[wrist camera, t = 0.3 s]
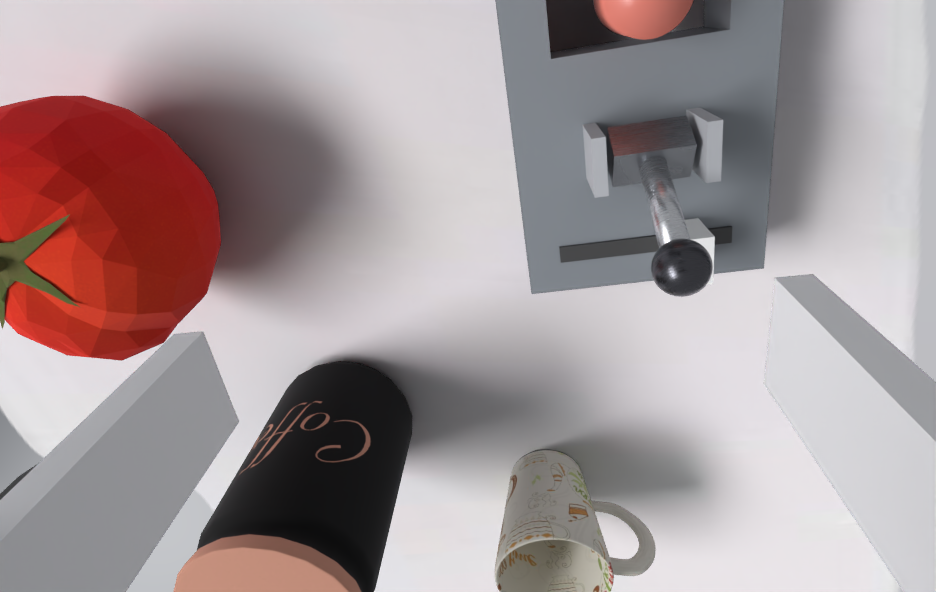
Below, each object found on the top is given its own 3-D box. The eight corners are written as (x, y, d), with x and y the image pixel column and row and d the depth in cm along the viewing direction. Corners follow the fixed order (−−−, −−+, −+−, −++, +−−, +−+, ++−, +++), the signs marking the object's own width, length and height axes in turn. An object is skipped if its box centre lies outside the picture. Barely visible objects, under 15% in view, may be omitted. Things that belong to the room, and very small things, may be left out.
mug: (506, 431, 47) (505, 530, 38) (656, 454, 47) (690, 558, 38) (491, 503, 51) (486, 608, 42) (629, 524, 51) (654, 634, 42)
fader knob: (662, 222, 33) (675, 241, 30) (698, 217, 33) (714, 236, 30) (662, 266, 34) (675, 288, 32) (697, 262, 34) (713, 284, 31)
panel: (472, -202, 29) (459, -274, 21) (764, -269, 27) (859, -372, 20) (529, 265, 40) (533, 323, 33) (737, 241, 38) (791, 296, 31)
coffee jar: (405, 351, 44) (344, 546, 28) (423, 456, 49) (379, 674, 33) (273, 357, 45) (143, 548, 29) (303, 459, 50) (205, 672, 34)
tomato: (23, 89, 37) (-216, 129, 25) (225, 75, 36) (77, 110, 24) (108, 301, 44) (-47, 414, 32) (279, 296, 43) (186, 412, 31)
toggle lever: (607, 124, 30) (643, 279, 24) (687, 112, 29) (742, 268, 24) (606, 160, 32) (638, 311, 26) (680, 150, 31) (729, 302, 26)
